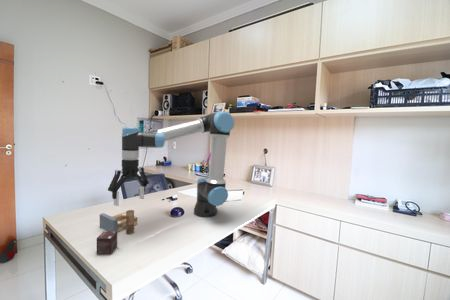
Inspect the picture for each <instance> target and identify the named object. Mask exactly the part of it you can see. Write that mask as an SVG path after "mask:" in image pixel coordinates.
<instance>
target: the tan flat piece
mask: <svg viewBox="0 0 450 300" xmlns="http://www.w3.org/2000/svg"><path fill="white" fill-rule="evenodd" d="M111 217H114V218H116V219H118V233H120V232H122V231H124V230H126V211H125V212H122V213H118V214H115V215H112V216H111ZM137 225H138V216H135V215H134V226H137Z"/></svg>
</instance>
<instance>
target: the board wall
mask: <svg viewBox="0 0 450 300" xmlns="http://www.w3.org/2000/svg"><path fill="white" fill-rule="evenodd" d="M99 228H101V229H103V230H104V231H110V232H112V231H117V234H118V233H119V232H118V219H116V218H114V217H112V216H111V215H109V214H106V213H99Z"/></svg>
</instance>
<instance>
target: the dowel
mask: <svg viewBox="0 0 450 300" xmlns="http://www.w3.org/2000/svg"><path fill="white" fill-rule="evenodd" d="M125 212H126V229H125V230H126V231H125V234H126V235H132V234H134V233H135V225H134V216H135V210H133V209H129V210H128V209H127V210H126V211H125Z"/></svg>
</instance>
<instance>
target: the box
mask: <svg viewBox="0 0 450 300" xmlns="http://www.w3.org/2000/svg"><path fill="white" fill-rule="evenodd" d="M117 248H118V233H117V231H112V232H110V231H106V230H104V231H102V232H101V233H100V234H98V236H97V237H96V255H97V256H99V255H102V256H103V255H106V256H107V255H113V253H114V251H115V250H116V249H117Z"/></svg>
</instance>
